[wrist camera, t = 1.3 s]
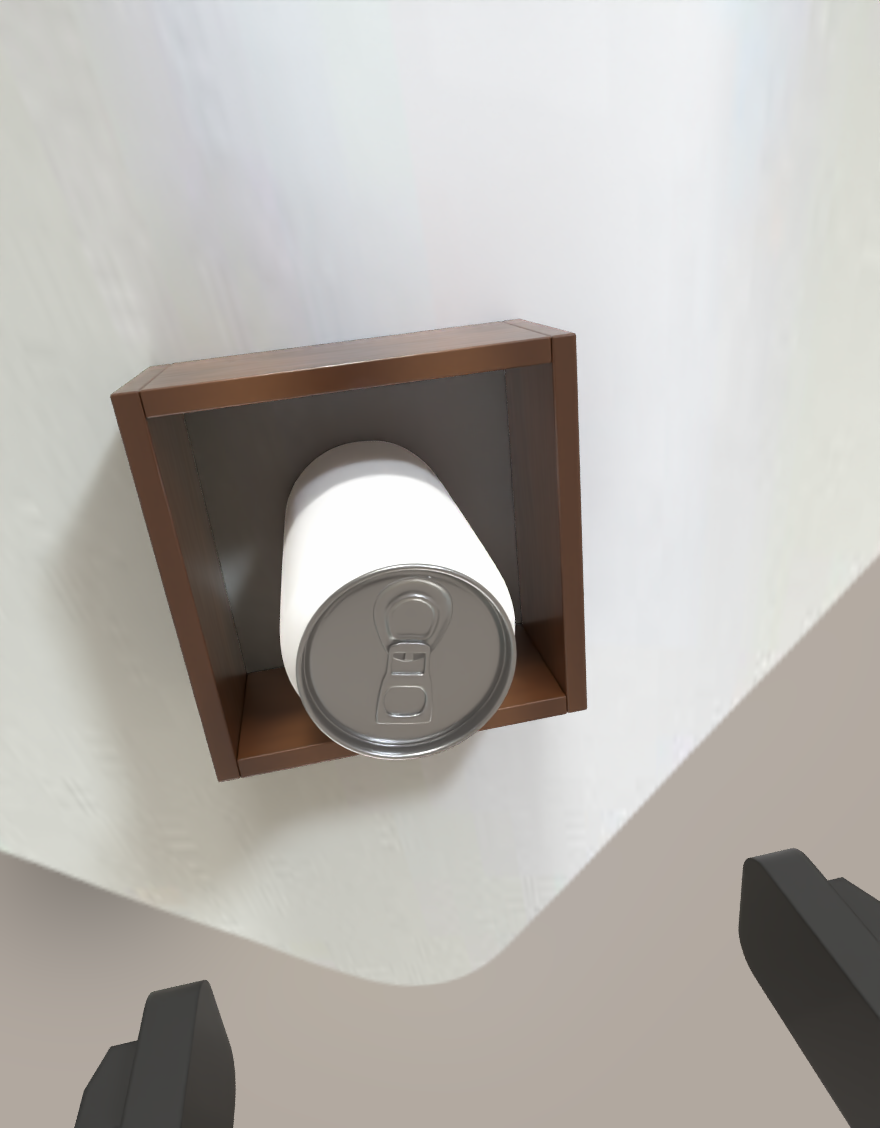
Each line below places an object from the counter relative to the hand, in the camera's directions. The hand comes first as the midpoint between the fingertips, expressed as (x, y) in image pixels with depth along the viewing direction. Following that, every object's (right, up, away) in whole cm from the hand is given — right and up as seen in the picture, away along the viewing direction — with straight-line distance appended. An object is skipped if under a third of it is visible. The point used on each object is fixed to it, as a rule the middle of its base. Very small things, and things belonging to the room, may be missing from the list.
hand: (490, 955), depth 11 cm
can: (-4, +8, +19) cm, 21 cm away
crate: (-4, +8, +19) cm, 20 cm away
